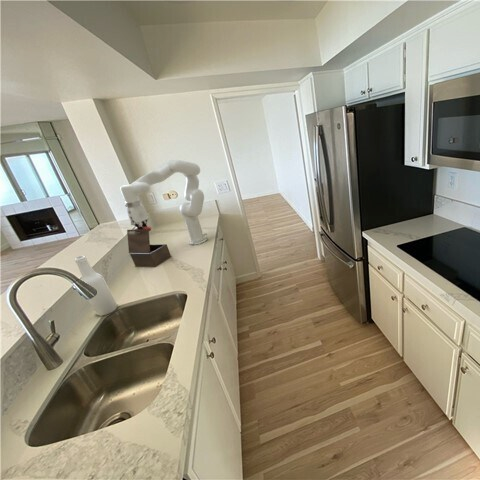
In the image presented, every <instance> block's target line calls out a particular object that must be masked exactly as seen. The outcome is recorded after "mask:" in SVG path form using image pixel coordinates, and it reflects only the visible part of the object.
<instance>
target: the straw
mask: <svg viewBox="0 0 480 480" xmlns="http://www.w3.org/2000/svg"><path fill="white" fill-rule="evenodd" d="M142 228H143V229H149V232H150V231H152V228H151V227H150V226H147V227H142ZM135 229H138V228H137V227H136V226H135V228H134V230H135Z"/></svg>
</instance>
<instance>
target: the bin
mask: <svg viewBox="0 0 480 480" xmlns="http://www.w3.org/2000/svg"><path fill="white" fill-rule="evenodd" d="M129 255H130V258H131V260H132V262H133V264H134V266H135V267H137V268H139V267H140V268H142V267H143V268H145V267H146V268H156V267H158V266H160V265H161V264H162V263H164V262H165V261H167V260H169V259H170V258H171V257H172V254H171V252H170V250H169V246H168V244H167V243H156V244H155V243H154V244H153V243H152V244H151V243H150V253H129Z"/></svg>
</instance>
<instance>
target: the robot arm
mask: <svg viewBox="0 0 480 480" xmlns="http://www.w3.org/2000/svg"><path fill="white" fill-rule="evenodd" d="M176 173H180V174H182V175H183V176H184V178H185V181H186V182H185V188H184V193H183V197H184V199H185V201H189V202H183V203H182V204H181V205H180V206H179V212H180V214H181V216H182V218H183V221H184V223H185V226H186V229H187V233H188V235H189V238H190V241H189V245H191V246H195V245H200V244H203V243H205V242H206V241H207V239H208V238H207V237H206V236H207V235H208V233H207V232H204V233H203V230H202V225H201V224H200V219H199V217H198V216H200V215H201V213H202V211H203V207H204V201H205V194H204V192H203V191H202V190H201V189H199V187H200V186H199V185H200V180H199V177H198V175H199V174H200V173H201V168H200V166H199V165H198V164H197V163H195V162H190V161H185V160H181V159H169V160H167V161H166V162H164V163H162V164H161V165H160V166H159V167H157V168H155V169H154V170H151V171H149V172H148V173H146V174H144V175H142V176H140V177H139V178H137V179H136V180H134V181H133V182H132V183H130V184H123V185H121V186H119V190H120V193H121V195H122V198H123V200H124V203H125V204H124V205H125V208H126V212H127V216H128V219H129V221H130V225H131V226H134V227H135V228H136V227H137V228H138V229H143V228H142V227H148V220H149V215H148V212H147V210H146V209H145V206H144V205H143V204H142V203H141V201H140V199H139V195H147V194H148V193H150V192H151V186H153V185H155V184H160V183H162V182H164V181H166V180H167V179H169V178H170V177H172V176H173V175H175V174H176Z"/></svg>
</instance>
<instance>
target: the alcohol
mask: <svg viewBox="0 0 480 480" xmlns="http://www.w3.org/2000/svg"><path fill="white" fill-rule="evenodd" d="M87 259H88V258H87V257H86V256H85V255H80V256H77V257H75V258H74V261H75V263H76V266H77V268H78V270H79V273H80V275H81V279H80V280H82V281H84V282H85V283H87V284H89V285H91V286H92V287H94V288H95V289H96V290H97V295H96V296H95V297H94V298H93V299H91V300H88V302H89V304H90V306H91V307H92V309H93V311H94V312H95V314H96V315H97V316H99V317H100V316H101V317H103V316H107V315H108V314H109V315H110V314H111V313H113V312H114V311H115V310H116V309H117V308H118V302H117V301H116V299H115V297H114V295H113V293H112V291H111V289H110V287H109V285H108V284H107V281H106V280H105V277H104V276H103V275H102V274H101V273H99V272H96V271H95V270H94V268H93V267H92V266H91V264H90V263H89V261H88V260H87Z"/></svg>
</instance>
